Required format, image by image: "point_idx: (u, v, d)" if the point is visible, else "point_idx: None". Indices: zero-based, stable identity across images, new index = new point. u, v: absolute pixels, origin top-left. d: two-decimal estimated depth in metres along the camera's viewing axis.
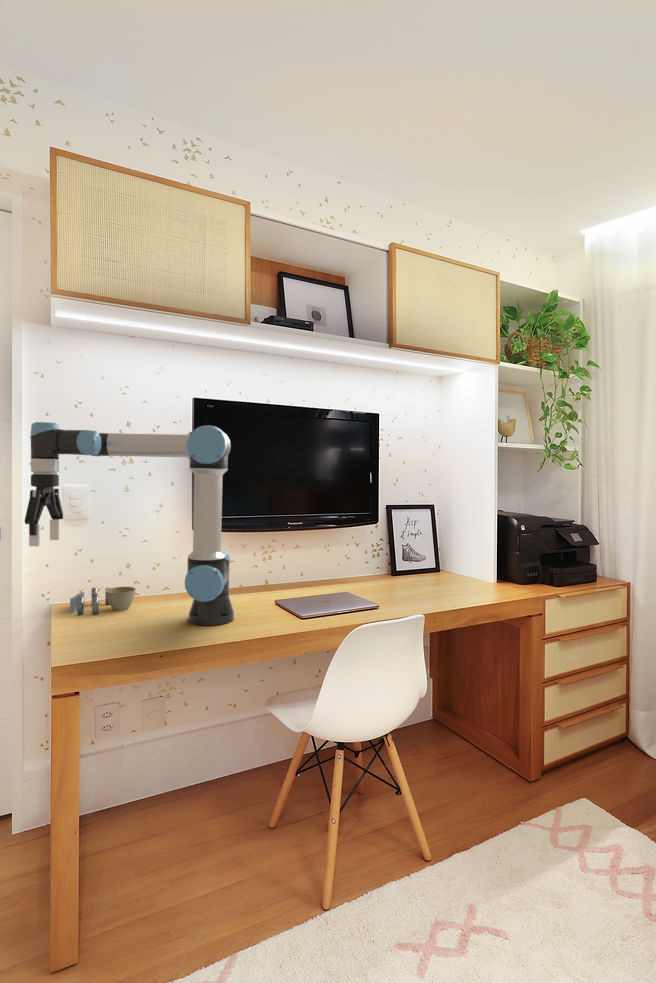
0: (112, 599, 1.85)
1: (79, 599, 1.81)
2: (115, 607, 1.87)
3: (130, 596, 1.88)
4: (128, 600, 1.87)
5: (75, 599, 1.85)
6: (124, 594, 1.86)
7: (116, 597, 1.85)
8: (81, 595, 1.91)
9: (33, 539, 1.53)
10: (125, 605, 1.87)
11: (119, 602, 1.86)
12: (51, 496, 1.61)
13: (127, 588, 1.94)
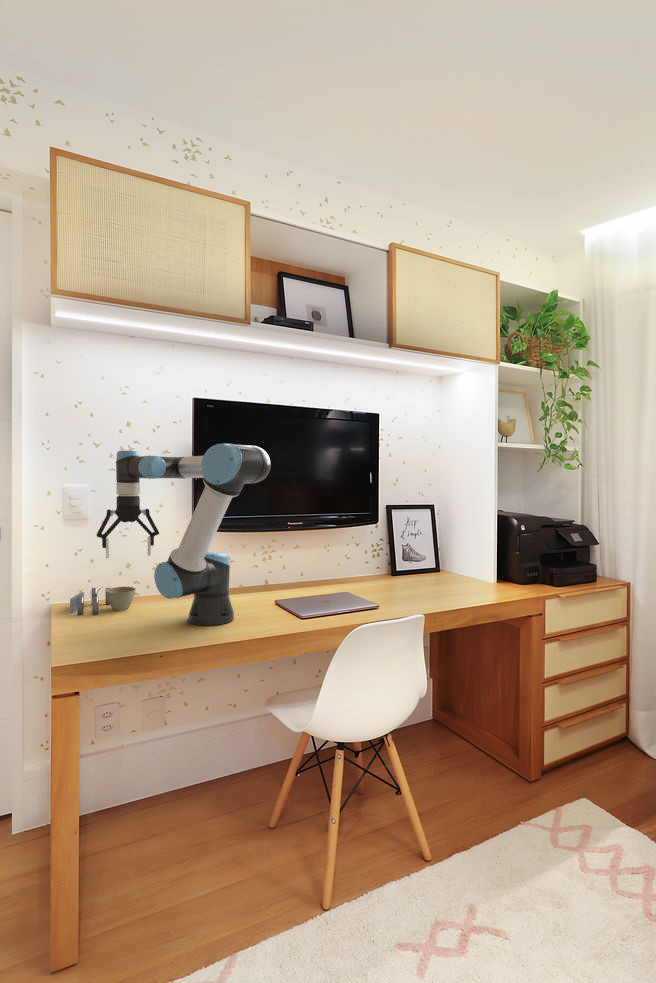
0: (112, 599, 1.85)
1: (79, 599, 1.81)
2: (115, 607, 1.87)
3: (130, 596, 1.88)
4: (128, 600, 1.87)
5: (75, 599, 1.85)
6: (124, 594, 1.86)
7: (116, 597, 1.85)
8: (81, 595, 1.91)
9: (106, 551, 1.79)
10: (125, 605, 1.87)
11: (119, 602, 1.86)
12: (131, 515, 1.81)
13: (127, 588, 1.94)
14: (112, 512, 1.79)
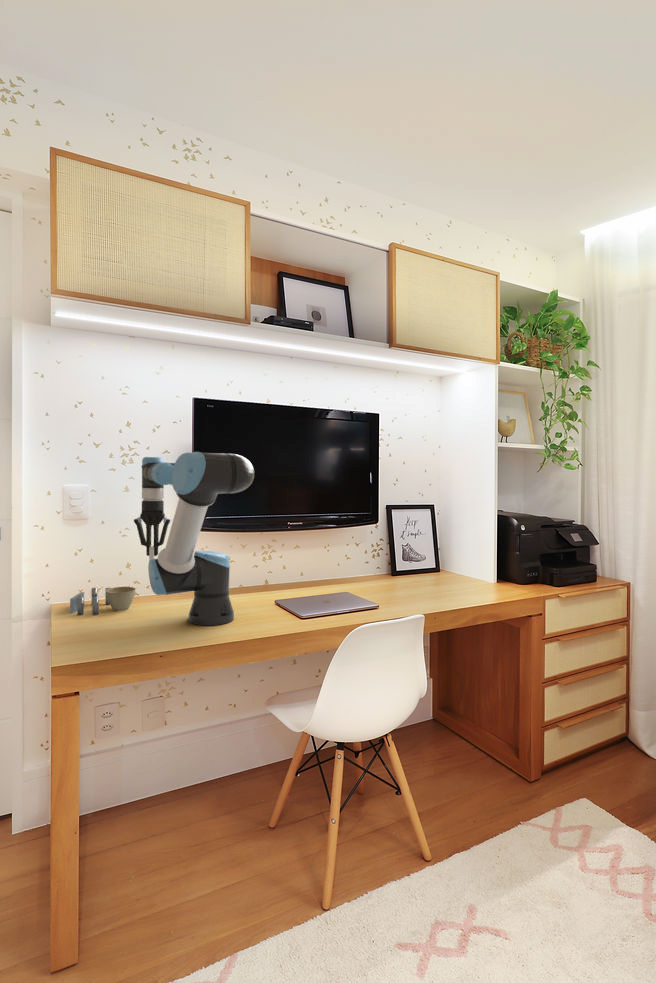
0: (112, 599, 1.85)
1: (79, 599, 1.81)
2: (115, 607, 1.87)
3: (130, 596, 1.88)
4: (128, 600, 1.87)
5: (75, 599, 1.85)
6: (124, 594, 1.86)
7: (116, 597, 1.85)
8: (81, 595, 1.91)
9: None
10: (125, 605, 1.87)
11: (119, 602, 1.86)
12: None
13: (127, 588, 1.94)
14: (139, 519, 1.89)
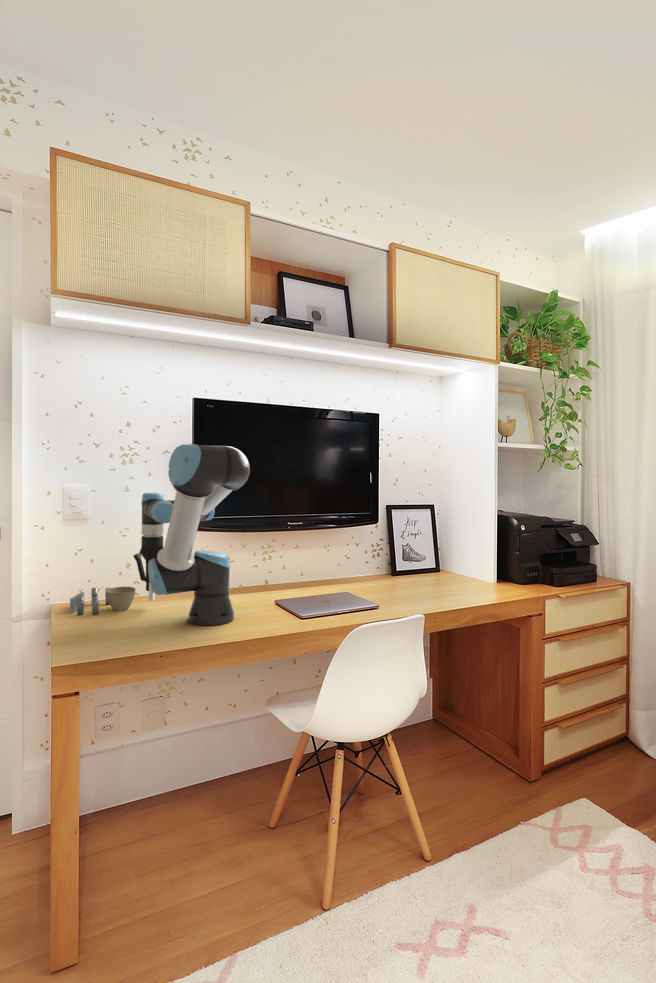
0: (112, 599, 1.85)
1: (79, 599, 1.81)
2: (115, 607, 1.87)
3: (130, 596, 1.88)
4: (128, 600, 1.87)
5: (75, 599, 1.85)
6: (124, 594, 1.86)
7: (116, 597, 1.85)
8: (81, 595, 1.91)
9: None
10: (125, 605, 1.87)
11: (119, 602, 1.86)
12: (153, 554, 1.89)
13: (127, 588, 1.94)
14: (138, 554, 1.89)
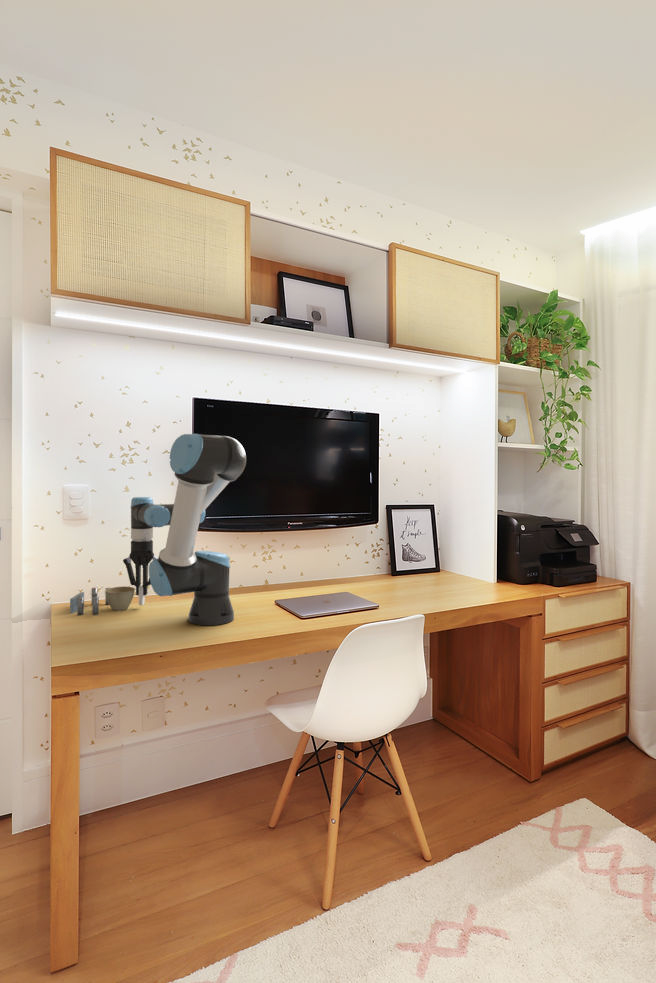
0: (111, 599, 1.85)
1: (79, 599, 1.81)
2: (114, 607, 1.87)
3: (129, 596, 1.88)
4: (127, 600, 1.87)
5: (75, 599, 1.85)
6: (123, 594, 1.86)
7: (115, 597, 1.85)
8: (81, 595, 1.91)
9: None
10: (124, 605, 1.87)
11: (118, 602, 1.86)
12: None
13: (126, 588, 1.94)
14: (128, 559, 1.89)
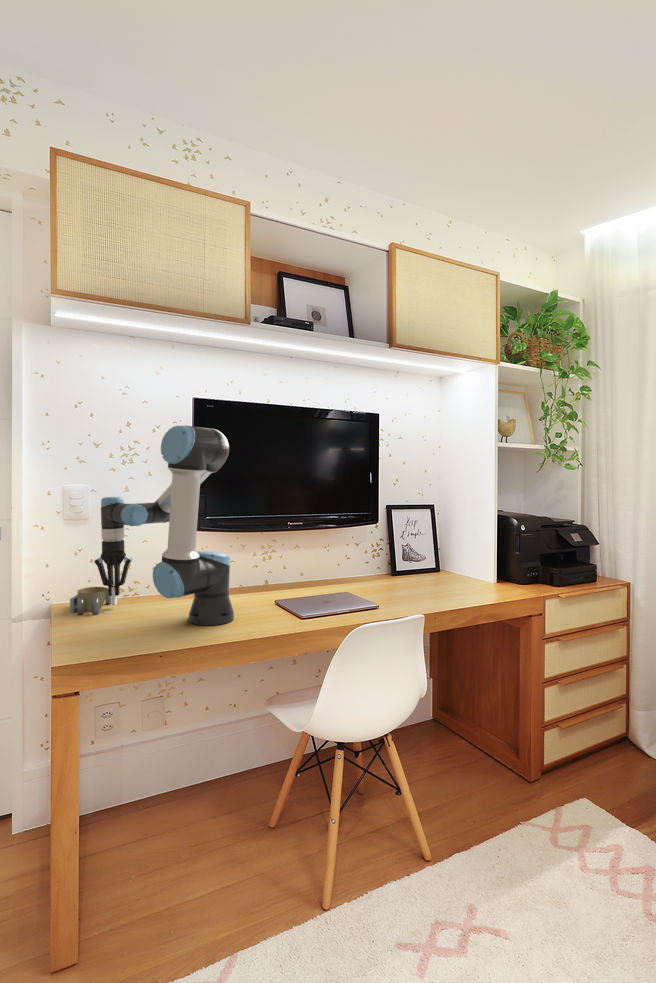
0: None
1: (79, 599, 1.81)
2: (86, 607, 1.86)
3: (102, 596, 1.87)
4: (100, 600, 1.86)
5: (75, 599, 1.85)
6: (96, 594, 1.85)
7: (87, 597, 1.84)
8: None
9: None
10: None
11: (90, 602, 1.85)
12: (114, 558, 1.88)
13: (99, 588, 1.93)
14: (99, 559, 1.88)
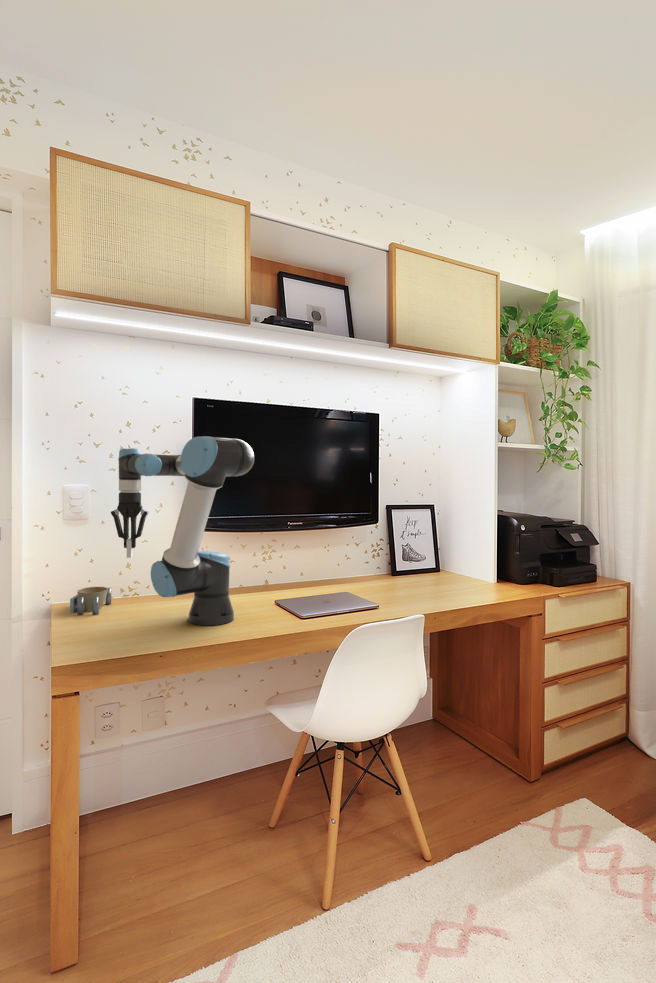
0: (84, 599, 1.84)
1: (79, 599, 1.81)
2: (87, 607, 1.86)
3: (102, 596, 1.87)
4: (100, 600, 1.87)
5: (75, 599, 1.85)
6: (96, 594, 1.85)
7: (88, 597, 1.84)
8: None
9: None
10: None
11: (91, 602, 1.85)
12: None
13: (99, 588, 1.93)
14: (116, 511, 1.88)
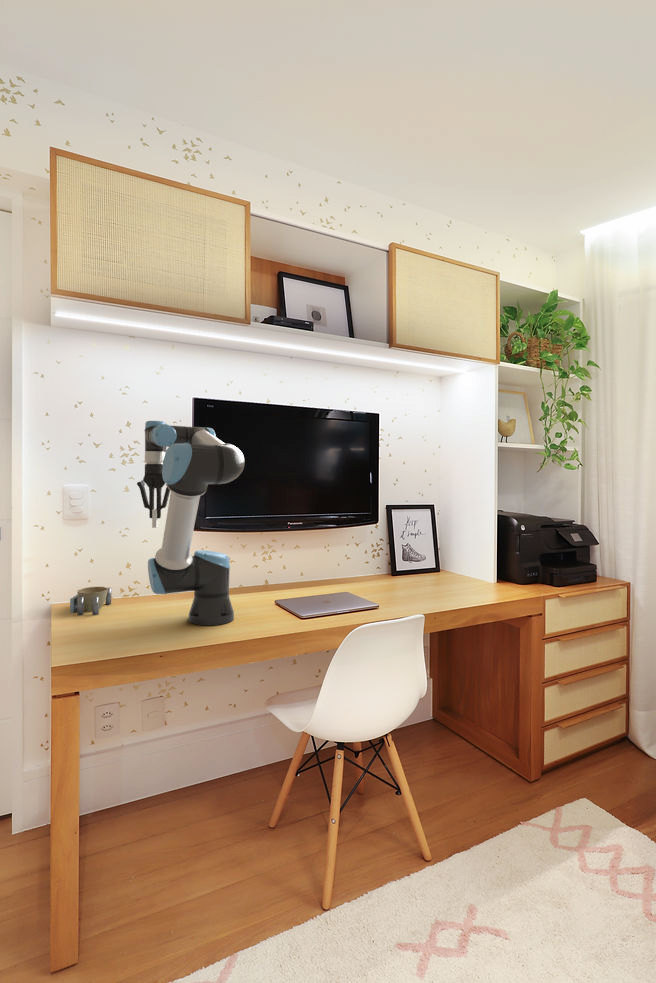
0: (84, 599, 1.84)
1: (79, 599, 1.81)
2: (87, 607, 1.86)
3: (102, 596, 1.87)
4: (100, 600, 1.87)
5: (75, 599, 1.85)
6: (96, 594, 1.85)
7: (88, 597, 1.84)
8: None
9: None
10: None
11: (91, 602, 1.85)
12: (156, 481, 1.92)
13: (99, 588, 1.93)
14: (142, 482, 1.92)
